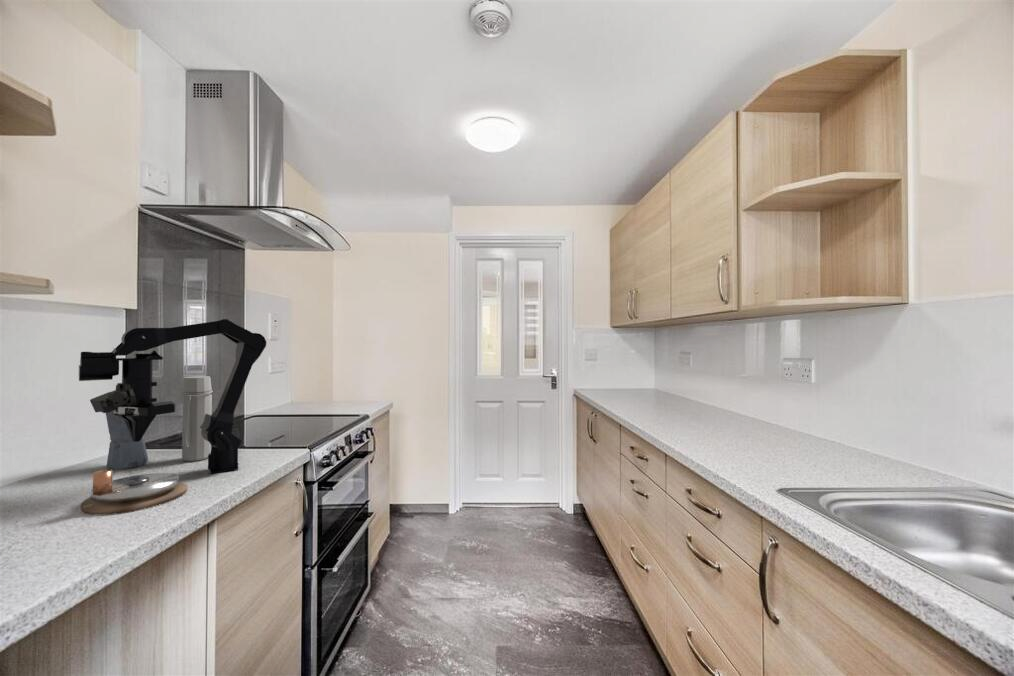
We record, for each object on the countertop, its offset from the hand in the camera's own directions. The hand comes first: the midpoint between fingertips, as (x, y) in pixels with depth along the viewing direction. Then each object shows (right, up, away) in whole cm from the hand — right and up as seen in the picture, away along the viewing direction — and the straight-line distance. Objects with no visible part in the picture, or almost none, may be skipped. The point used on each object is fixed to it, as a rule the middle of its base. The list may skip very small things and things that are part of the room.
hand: (136, 441), depth 104 cm
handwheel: (+7, -10, -9) cm, 15 cm away
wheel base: (+8, -11, -8) cm, 16 cm away
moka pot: (-18, -11, +17) cm, 28 cm away
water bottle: (-3, -12, +23) cm, 26 cm away
